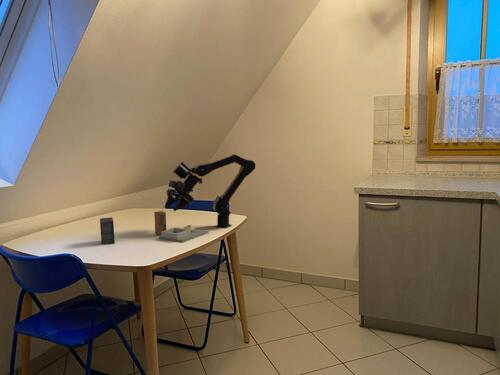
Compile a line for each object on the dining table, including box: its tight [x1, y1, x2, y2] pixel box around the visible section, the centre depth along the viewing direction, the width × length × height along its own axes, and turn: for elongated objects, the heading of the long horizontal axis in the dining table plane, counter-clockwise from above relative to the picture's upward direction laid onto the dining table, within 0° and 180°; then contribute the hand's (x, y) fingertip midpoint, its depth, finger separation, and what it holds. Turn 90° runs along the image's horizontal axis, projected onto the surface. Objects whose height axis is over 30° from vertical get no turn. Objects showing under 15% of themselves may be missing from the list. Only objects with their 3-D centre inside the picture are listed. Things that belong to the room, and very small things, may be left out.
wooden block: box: [153, 210, 167, 237], centre depth 200 cm, size 4×4×11 cm
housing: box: [158, 224, 209, 243], centre depth 197 cm, size 20×14×4 cm
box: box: [99, 216, 116, 246], centre depth 187 cm, size 8×6×11 cm
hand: (169, 209), depth 202 cm, fingers open, 9 cm apart
